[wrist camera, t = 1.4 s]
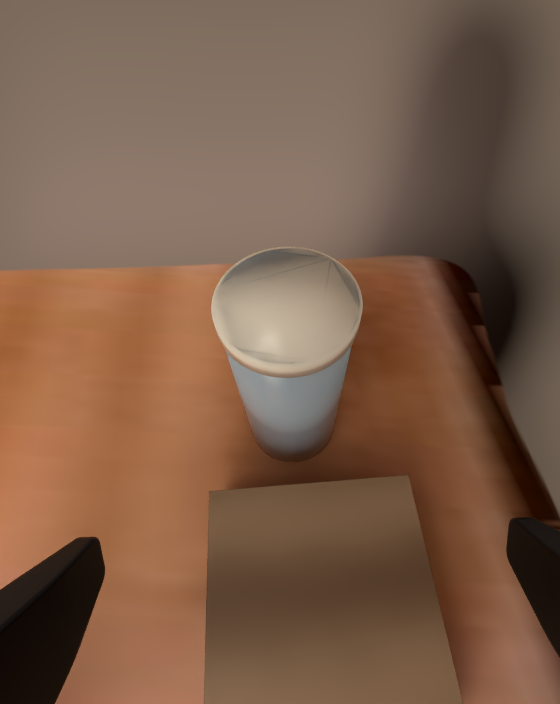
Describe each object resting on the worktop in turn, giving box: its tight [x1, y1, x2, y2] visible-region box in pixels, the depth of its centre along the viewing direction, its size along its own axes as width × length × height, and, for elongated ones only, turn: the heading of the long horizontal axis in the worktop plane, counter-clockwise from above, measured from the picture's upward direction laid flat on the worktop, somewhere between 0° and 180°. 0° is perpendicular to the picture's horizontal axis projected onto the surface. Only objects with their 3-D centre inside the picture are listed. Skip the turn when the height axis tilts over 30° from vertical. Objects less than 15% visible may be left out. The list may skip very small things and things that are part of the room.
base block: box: [204, 475, 463, 704], centre depth 18 cm, size 10×10×3 cm
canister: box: [211, 247, 363, 462], centre depth 19 cm, size 5×5×12 cm
